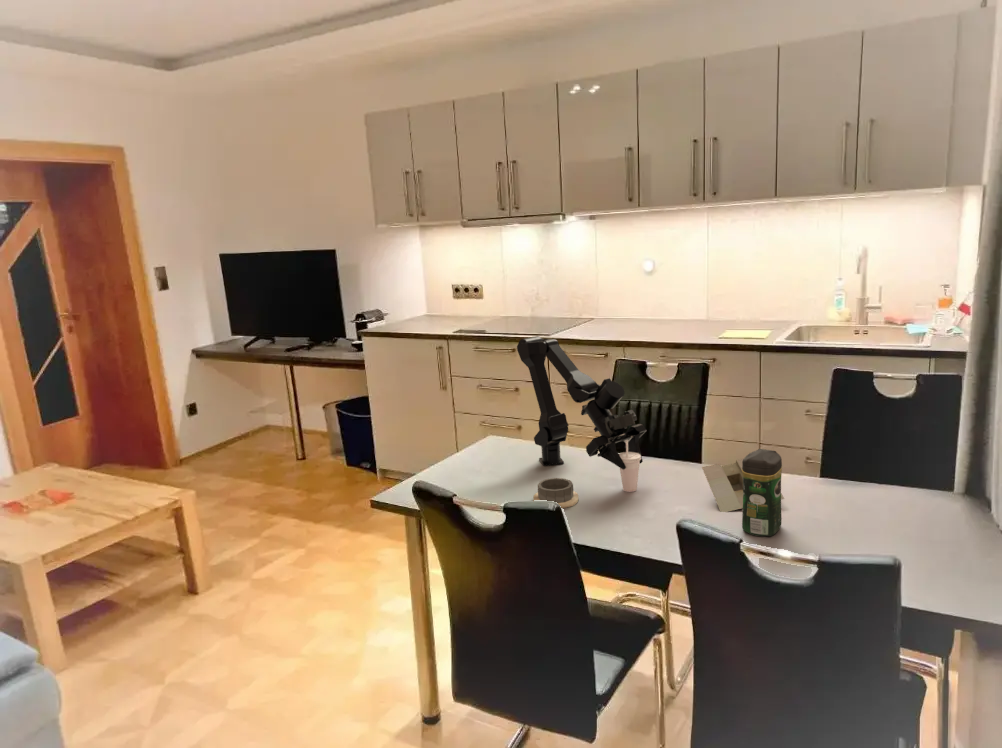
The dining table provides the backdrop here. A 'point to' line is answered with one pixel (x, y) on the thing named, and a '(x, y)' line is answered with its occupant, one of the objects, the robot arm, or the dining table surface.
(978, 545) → the dining table surface
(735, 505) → the open cardboard box
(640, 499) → the dining table surface
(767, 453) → the coffee jar
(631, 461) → the smoothie
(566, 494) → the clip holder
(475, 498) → the dining table surface
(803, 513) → the dining table surface
